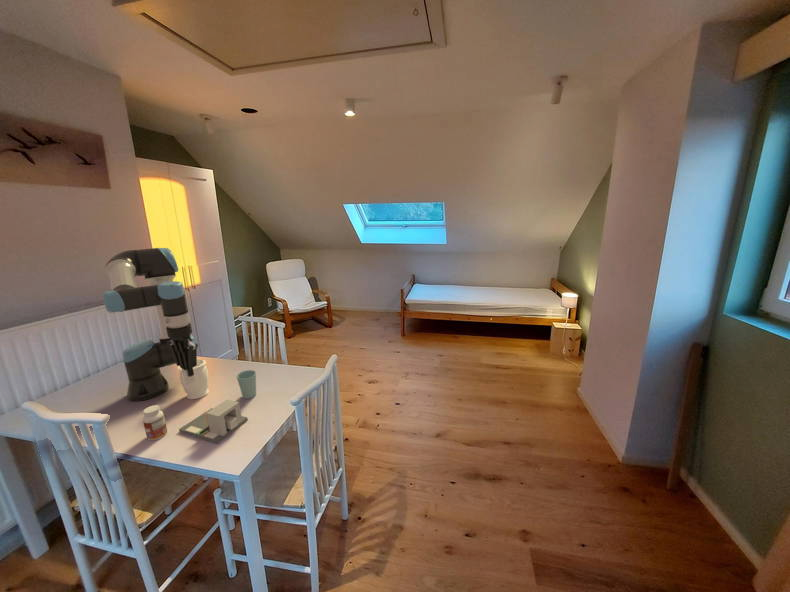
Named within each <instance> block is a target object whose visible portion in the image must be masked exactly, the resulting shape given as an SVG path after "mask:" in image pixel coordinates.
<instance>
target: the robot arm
mask: <svg viewBox="0 0 790 592" xmlns="http://www.w3.org/2000/svg"><path fill="white" fill-rule="evenodd" d="M178 272H179V267H178V263H177V261H176V259H175V256H174V253H173V252H172V250H171V249H170V248H167V247H155V248H144V249H143V248H142V249H141V248H140V249H130V250H125V251H121V252H119V253H117V254H115V255H113V256H112V257H110V259H109V260H108V261H107V262H106V264H105V274H106V275H107V277H109V283H110V290H109V291H105V292H103V294H102V297H103V302H104V306H105V308H106V309H105V310H106V312H108V313H113V314H114V313H123V312H127V311H133V310H138V309H144V308H150V307H155V309H156V314H157V317H158V321H159V326H160V330H161V335H160V336H159V337H158V340H159V342H155V341H154V340H141V341H139V342H136V343H133V344H131V345H129V346H128V347H126V348H124V350H123V351H122V353H121V355H122V359H123V360H122V362H123V363H124V366H125V371H126V375H127V379H128V384H127V385H128V387H127V391H126V395H127V399H128V400H129V401H132V402H141V401H147V400H149V399H150V400H151V399H153V398H156V397H157V396H160V395H162V394H164V393H165V392H167V390H168V389H169V382H168V380H167V379H166V378H165V376H164V374H163V373H162V372H161V368H165V367H169V366H172V365H175V364H176V366H177V367H178V366H180V367H181V368H182V371H183V375H184V379H185V384H186V385H190V384H192V383H194V382H195V379H194V372H193V367H195V366H196V365H197V358H198V357H197V354H198V352H197V349H198V343H195V341H194V340H195V339H194V336H193V335H192V333H193V328H192V323H190V322H191V317H190V311H189V309H188V304H187V303H188V302H187V298H186V290H185V288H184V285H183V282H181V281H177V280H175V281H174V279H175V278H176V277H177V275H176V273H178ZM143 276H144V279H145V281H147V282H149V283H150V284H149V285H146V286H139V287H138V286H137V282H136V278H135V277H143Z"/></svg>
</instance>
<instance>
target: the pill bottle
mask: <svg viewBox="0 0 790 592" xmlns="http://www.w3.org/2000/svg"><path fill="white" fill-rule="evenodd" d="M142 412H143V418H142V423H143V427H144V431H145V435H146V439H148V440H149V441H157V440H159V439H161V438H163V437H164V436H166V434H168V426H167V422H166V419H165V415H164V412H163V411H162V410H161V409H160V405H156V404H155V405H151V406H148V407H146V408H145V409H144V410H143V411H142Z"/></svg>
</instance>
